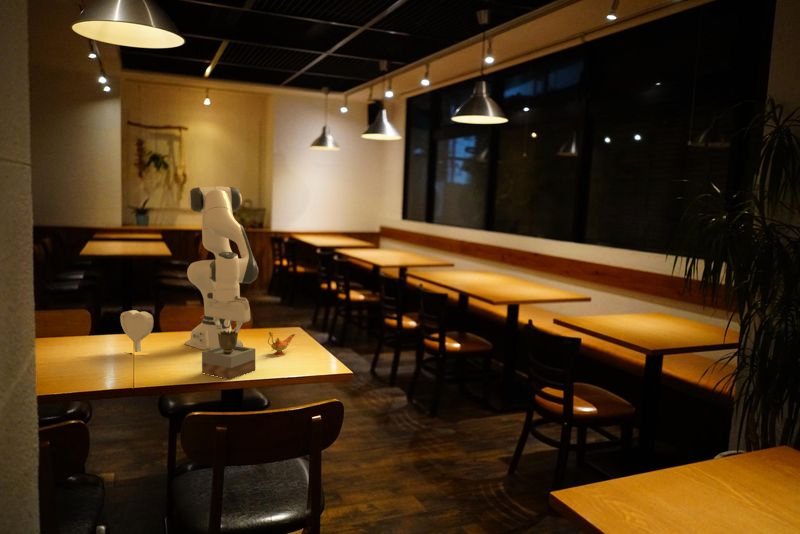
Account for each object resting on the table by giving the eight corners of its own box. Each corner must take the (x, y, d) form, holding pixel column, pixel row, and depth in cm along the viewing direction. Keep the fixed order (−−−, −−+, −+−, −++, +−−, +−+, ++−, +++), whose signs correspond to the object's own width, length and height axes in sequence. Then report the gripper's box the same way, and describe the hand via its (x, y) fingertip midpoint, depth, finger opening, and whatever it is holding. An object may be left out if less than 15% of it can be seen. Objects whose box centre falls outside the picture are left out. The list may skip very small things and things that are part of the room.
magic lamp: (301, 349, 266) (301, 325, 265) (274, 359, 251) (274, 333, 249) (288, 347, 270) (289, 323, 268) (261, 356, 254) (261, 331, 253)
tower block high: (202, 362, 226) (201, 351, 226) (227, 354, 239) (227, 344, 238) (231, 368, 220) (230, 356, 220) (255, 359, 233) (255, 348, 233)
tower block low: (202, 374, 228) (201, 361, 227) (228, 366, 240) (228, 353, 240) (229, 380, 221) (229, 367, 221) (255, 371, 234) (255, 359, 233)
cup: (232, 355, 225) (232, 335, 225) (214, 354, 227) (214, 333, 226) (241, 351, 233) (241, 331, 232) (224, 349, 234) (224, 329, 233)
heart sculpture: (119, 352, 255) (118, 310, 253) (129, 349, 260) (128, 308, 257) (146, 357, 248) (145, 314, 246) (155, 354, 253) (154, 312, 251)
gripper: (254, 297, 225) (254, 332, 227) (214, 291, 235) (214, 325, 236) (242, 299, 220) (242, 336, 221) (202, 293, 229) (202, 328, 231)
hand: (227, 330), depth 229 cm, fingers open, 8 cm apart
